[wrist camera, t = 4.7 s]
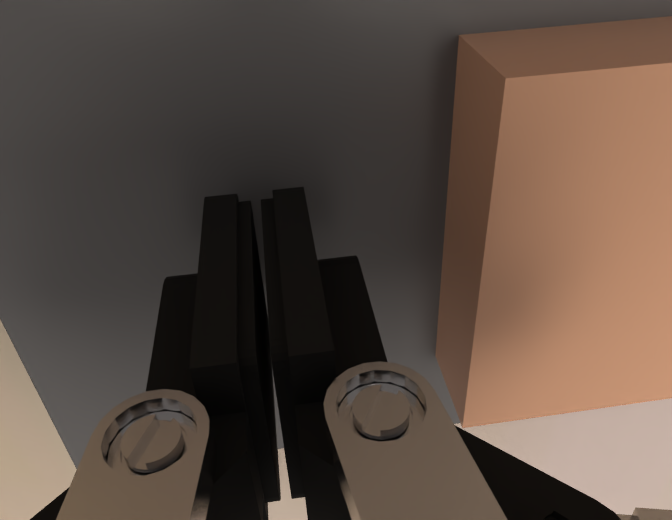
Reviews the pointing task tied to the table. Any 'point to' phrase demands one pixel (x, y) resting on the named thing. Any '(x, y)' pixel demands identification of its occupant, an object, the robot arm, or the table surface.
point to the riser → (224, 162)
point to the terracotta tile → (559, 221)
